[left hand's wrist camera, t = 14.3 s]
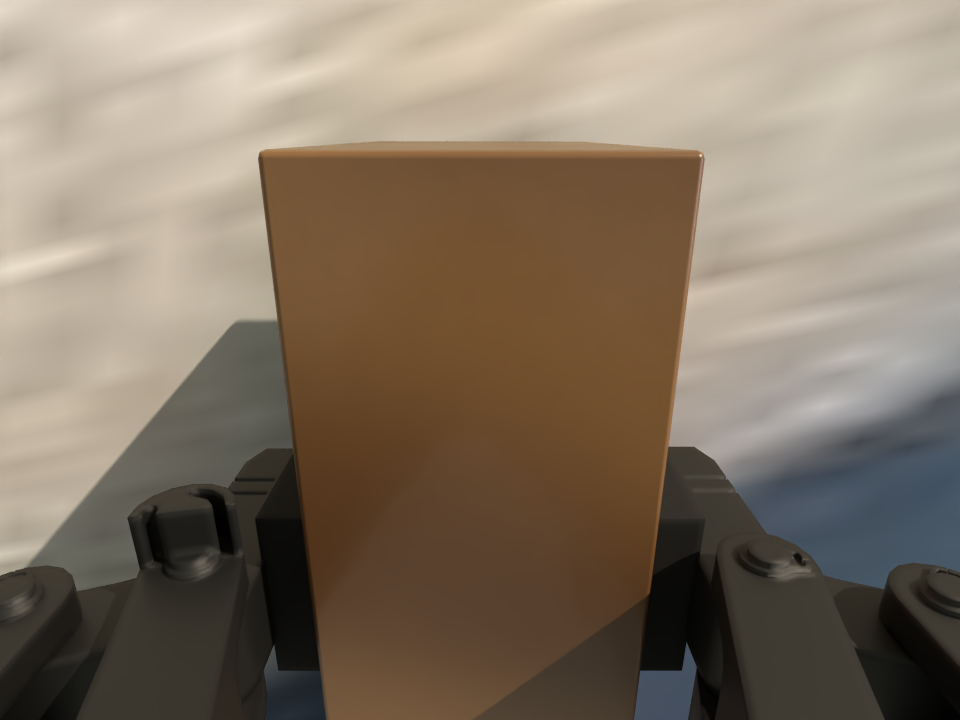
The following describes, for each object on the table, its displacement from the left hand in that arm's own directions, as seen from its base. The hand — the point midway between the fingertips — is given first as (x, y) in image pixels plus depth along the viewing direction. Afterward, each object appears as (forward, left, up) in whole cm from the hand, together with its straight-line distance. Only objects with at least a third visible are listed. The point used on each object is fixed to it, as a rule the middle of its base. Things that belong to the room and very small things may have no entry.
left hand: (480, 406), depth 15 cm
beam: (+3, +29, -1) cm, 30 cm away
